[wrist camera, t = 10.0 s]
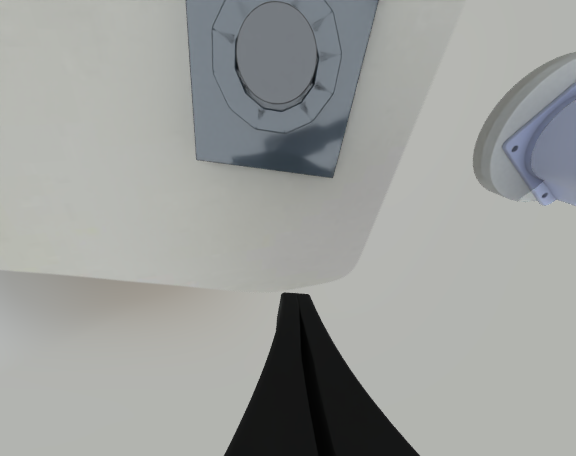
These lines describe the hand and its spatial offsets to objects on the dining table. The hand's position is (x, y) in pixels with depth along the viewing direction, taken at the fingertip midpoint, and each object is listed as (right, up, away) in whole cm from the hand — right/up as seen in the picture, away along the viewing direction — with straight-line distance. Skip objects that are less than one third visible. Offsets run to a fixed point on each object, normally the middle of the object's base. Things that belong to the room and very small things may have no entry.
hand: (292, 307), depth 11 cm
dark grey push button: (-1, +13, 0) cm, 13 cm away
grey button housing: (-1, +14, +4) cm, 15 cm away
